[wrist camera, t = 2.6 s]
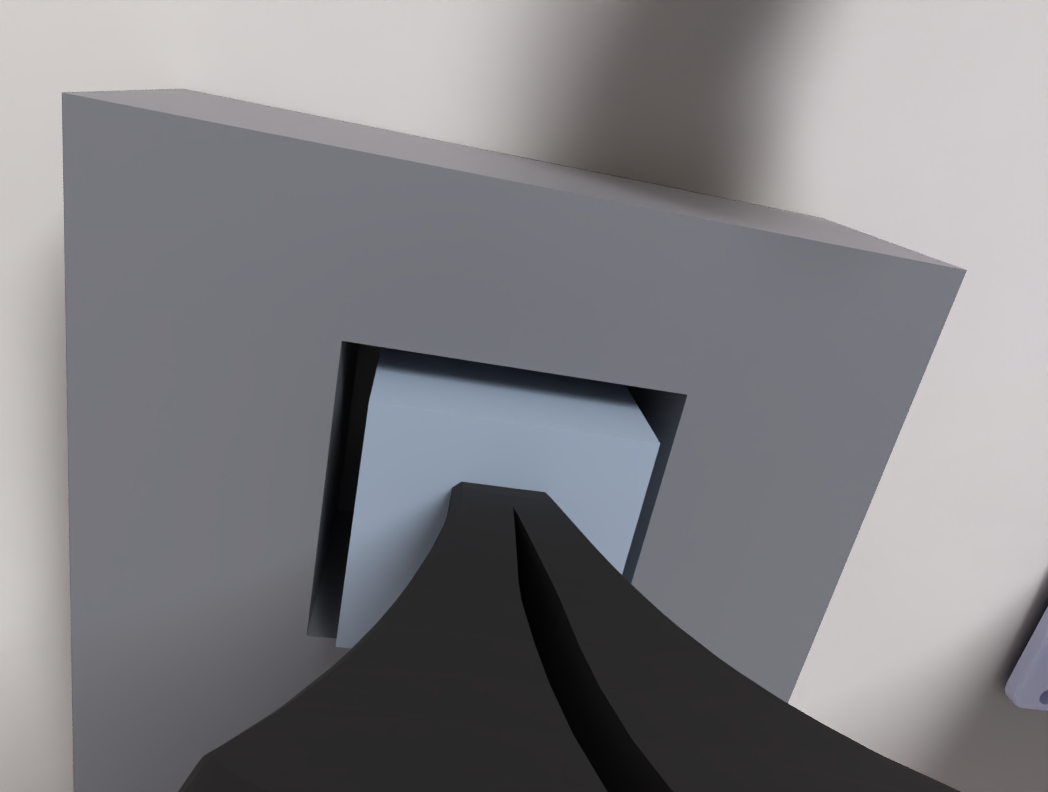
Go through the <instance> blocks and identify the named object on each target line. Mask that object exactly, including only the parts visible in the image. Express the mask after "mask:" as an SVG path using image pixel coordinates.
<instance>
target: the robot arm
mask: <svg viewBox="0 0 1048 792" xmlns="http://www.w3.org/2000/svg"><path fill="white" fill-rule="evenodd" d="M1005 693H1006V695H1007V696H1008V697H1009V699H1010V700H1011V701H1012V702H1013V703H1014V704H1015V705H1016V706H1017V707H1020V708H1025V709H1035V710H1046V711H1048V607H1047V609H1046V611H1045V612H1044V614H1043V616H1042V618H1041V620H1040V622H1039V624H1038V625H1037V627H1036V629H1035V631H1034V633H1033V635H1032V637H1031V638H1030V640H1029V642H1028V644H1027V646H1026V648H1025V650H1024V651H1023V653H1022V655H1021V657H1020V659H1019V661H1018V663H1017V664H1016V666H1015V668H1014V670H1013V672H1012V674H1011V676H1010V677H1009V679H1008V681H1007V683H1006V687H1005ZM178 792H960V791H958V790H956V789H953V788H951V787H949V786H947V785H945V784H943V783H940V782H938V781H936V780H934V779H932V778H930V777H927V776H925V775H923V774H921V773H919V772H916V771H914V770H912V769H910V768H908V767H906V766H903V765H901V764H899V763H897V762H895V761H893V760H890V759H888V758H886V757H884V756H882V755H880V754H878V753H876V752H874V751H872V750H870V749H868V748H866V747H865V746H863V745H861V744H859V743H857V742H855V741H853V740H852V739H850V738H848V737H846V736H844V735H842V734H840V733H839V732H837V731H835V730H833V729H831V728H829V727H828V726H826V725H824V724H822V723H820V722H818V721H817V720H815V719H813V718H812V717H810V716H808V715H806V714H805V713H803V712H801V711H800V710H798V709H796V708H795V707H793V706H791V705H789V704H788V703H786V702H784V701H783V700H781V699H780V698H778V697H777V696H775V695H774V694H772V693H770V692H769V691H767V690H766V689H764V688H763V687H761V686H760V685H758V684H757V683H755V682H754V681H752V680H751V679H749V678H747V677H746V676H744V675H743V674H741V673H740V672H738V671H737V670H735V669H734V668H733V667H731V666H730V665H728V664H727V663H726V662H724V661H723V660H721V659H720V658H718V657H717V656H716V655H714V654H713V653H712V652H710V651H709V650H708V649H707V648H705V647H704V646H703V645H702V644H700V643H699V642H698V641H696V640H695V639H694V638H693V637H691V636H690V635H689V634H687V633H686V632H685V631H684V630H682V629H681V628H680V627H678V626H677V625H676V624H675V623H674V622H672V621H671V620H670V619H669V618H668V617H667V616H665V615H664V614H663V613H662V612H661V611H660V610H659V609H657V608H656V607H655V606H654V605H653V604H652V603H651V602H650V601H649V600H648V599H647V598H646V597H645V596H643V595H642V594H641V593H640V592H639V591H638V590H637V589H636V588H635V587H634V586H633V585H632V584H631V583H630V582H629V581H628V580H627V579H626V578H625V577H624V576H623V575H622V574H620V573H619V572H618V571H617V570H616V568H615V567H614V566H613V565H612V564H611V563H610V562H609V561H608V560H607V559H606V558H605V557H604V556H603V555H602V554H601V553H600V552H599V551H598V550H597V549H596V547H595V546H594V545H593V544H592V543H591V542H590V541H589V540H588V539H587V538H586V536H585V535H584V534H583V533H582V532H581V531H580V530H579V529H578V527H577V526H576V525H575V524H574V523H573V522H572V521H571V520H570V518H569V517H568V516H567V515H566V514H565V513H564V512H563V511H562V509H561V508H560V507H559V506H558V505H557V504H556V503H555V502H554V501H553V499H552V498H551V497H550V496H549V495H548V494H547V493H546V492H540V491H532V490H524V489H516V488H508V487H500V486H493V485H485V484H477V483H469V482H462V481H461V482H460V483H458V484H457V485H455V486H454V487H452V491H451V497H450V502H449V508H448V513H447V518H446V520H445V523H444V525H443V527H442V529H441V531H440V533H439V535H438V537H437V539H436V541H435V543H434V545H433V547H432V548H431V550H430V552H429V554H428V555H427V557H426V558H425V560H424V561H423V563H422V564H421V566H420V567H419V569H418V570H417V572H416V573H415V575H414V576H413V578H412V580H411V581H410V583H409V584H408V585H407V587H406V588H405V589H404V591H403V592H402V593H401V595H400V596H399V597H398V598H397V600H396V601H395V602H394V603H393V605H392V606H391V607H390V608H389V609H388V610H387V612H386V613H385V614H384V615H383V616H382V617H381V619H380V620H379V621H378V622H377V623H376V624H375V625H374V626H373V627H372V628H371V629H370V630H369V631H368V632H367V633H366V634H365V635H364V636H363V637H362V639H361V640H360V641H359V642H358V643H357V644H356V645H355V646H354V647H353V648H352V649H351V650H350V651H349V652H347V653H346V654H345V655H344V656H343V657H342V658H341V659H340V660H339V661H338V662H337V663H335V664H334V665H333V666H332V667H331V668H330V669H328V670H327V671H326V672H325V673H323V674H322V675H321V676H320V677H318V678H317V679H316V680H315V681H313V682H312V683H311V684H309V685H308V686H307V687H306V688H304V689H303V690H302V691H301V692H299V693H298V694H297V695H296V696H294V697H293V698H292V699H291V700H289V701H288V702H287V703H286V704H284V705H283V706H281V707H280V708H278V709H277V710H276V711H274V712H273V713H271V714H270V715H268V716H267V717H265V718H264V719H262V720H261V721H259V722H257V723H256V724H254V725H253V726H251V727H249V728H248V729H246V730H245V731H243V732H242V733H240V734H238V735H237V736H235V737H234V738H232V739H231V740H229V741H227V742H226V743H224V744H223V745H221V746H219V747H218V748H216V749H214V750H213V751H211V752H209V753H207V754H206V755H204V756H203V757H202V758H201V759H200V761H199V762H198V764H197V765H196V766H195V768H194V769H193V771H192V772H191V773H190V775H189V776H188V778H187V779H186V781H185V782H184V784H183V785H182V787H181V788H180V789H179V791H178Z"/></svg>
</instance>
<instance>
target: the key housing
mask: <svg viewBox="0 0 1048 792" xmlns="http://www.w3.org/2000/svg"><path fill="white" fill-rule="evenodd" d="M62 129H63V188H64V246H65V305H66V364H67V422H68V481H69V539H70V598H71V657H72V715H73V774H74V792H178V791H179V789H180V788H181V787H182V785H183V784H184V782H185V781H186V779H187V778H188V776H189V775H190V773H191V772H192V771H193V769H194V768H195V766H196V765H197V764H198V762H199V761H200V759H201V758H202V757H203V756H204V755H206V754H207V753H209V752H211V751H213V750H214V749H216V748H218V747H219V746H221V745H223V744H224V743H226V742H227V741H229V740H231V739H232V738H234V737H235V736H237V735H238V734H240V733H242V732H243V731H245V730H246V729H248V728H249V727H251V726H253V725H254V724H256V723H257V722H259V721H261V720H262V719H264V718H265V717H267V716H268V715H270V714H271V713H273V712H274V711H276V710H277V709H278V708H280V707H281V706H283V705H284V704H286V703H287V702H288V701H289V700H291V699H292V698H293V697H294V696H296V695H297V694H298V693H299V692H301V691H302V690H303V689H304V688H306V687H307V686H308V685H309V684H311V683H312V682H313V681H315V680H316V679H317V678H318V677H320V676H321V675H322V674H323V673H325V672H326V671H327V670H328V669H330V668H331V667H332V666H333V665H334V664H335V663H337V662H338V661H339V660H340V659H341V658H342V657H343V656H344V655H345V654H346V653H347V652H349V651H350V650H351V649H352V648H343V647H336V639H337V632H338V625H339V617H340V610H341V603H342V595H343V588H344V581H345V574H346V566H347V559H348V552H349V544H350V537H351V530H352V522H353V515H354V508H355V500H356V493H357V486H358V478H359V471H360V464H361V456H362V449H363V442H364V435H365V427H366V420H367V413H368V405H369V399H370V395H371V391H372V387H373V382H374V378H375V374H376V369H377V365H378V361H379V356H380V352H381V348H382V347H385V348H391V349H398V350H404V351H411V352H417V353H423V354H430V355H436V356H443V357H449V358H455V359H462V360H468V361H475V362H481V363H487V364H494V365H500V366H507V367H513V368H520V369H526V370H532V371H539V372H545V373H552V374H558V375H564V376H571V377H577V378H584V379H590V380H596V381H603V382H609V383H616V384H622V385H626V387H627V389H628V390H629V392H630V394H631V395H632V397H633V399H634V400H635V402H636V404H637V405H638V407H639V409H640V411H641V412H642V414H643V416H644V417H645V419H646V421H647V422H648V424H649V426H650V427H651V429H652V431H653V432H654V434H655V436H656V437H657V439H658V441H659V442H660V446H659V450H658V453H657V456H656V460H655V463H654V467H653V470H652V474H651V477H650V480H649V484H648V487H647V491H646V494H645V498H644V501H643V504H642V508H641V511H640V515H639V518H638V522H637V525H636V528H635V532H634V535H633V539H632V542H631V546H630V549H629V552H628V556H627V559H626V563H625V566H624V570H623V573H622V575H623V576H624V577H625V578H626V579H627V580H628V581H629V582H630V583H631V584H632V585H633V586H634V587H635V588H636V589H637V590H638V591H639V592H640V593H641V594H642V595H643V596H645V597H646V598H647V599H648V600H649V601H650V602H651V603H652V604H653V605H654V606H655V607H656V608H657V609H659V610H660V611H661V612H662V613H663V614H664V615H665V616H667V617H668V618H669V619H670V620H671V621H672V622H674V623H675V624H676V625H677V626H678V627H680V628H681V629H682V630H684V631H685V632H686V633H687V634H689V635H690V636H691V637H693V638H694V639H695V640H696V641H698V642H699V643H700V644H702V645H703V646H704V647H705V648H707V649H708V650H709V651H710V652H712V653H713V654H714V655H716V656H717V657H718V658H720V659H721V660H723V661H724V662H726V663H727V664H728V665H730V666H731V667H733V668H734V669H735V670H737V671H738V672H740V673H741V674H743V675H744V676H746V677H747V678H749V679H751V680H752V681H754V682H755V683H757V684H758V685H760V686H761V687H763V688H764V689H766V690H767V691H769V692H770V693H772V694H774V695H775V696H777V697H778V698H780V699H781V700H783V701H784V702H786V703H788V701H789V699H790V696H791V694H792V691H793V689H794V687H795V684H796V682H797V679H798V677H799V675H800V672H801V670H802V667H803V665H804V662H805V660H806V658H807V655H808V653H809V650H810V648H811V646H812V643H813V641H814V638H815V636H816V633H817V631H818V629H819V626H820V624H821V621H822V619H823V616H824V614H825V612H826V609H827V607H828V604H829V602H830V600H831V597H832V595H833V592H834V590H835V587H836V585H837V583H838V580H839V578H840V575H841V573H842V571H843V568H844V566H845V563H846V561H847V558H848V556H849V554H850V551H851V549H852V546H853V544H854V542H855V539H856V537H857V534H858V532H859V529H860V527H861V525H862V522H863V520H864V517H865V515H866V513H867V510H868V508H869V505H870V503H871V500H872V498H873V496H874V493H875V491H876V488H877V486H878V483H879V481H880V479H881V476H882V474H883V471H884V469H885V467H886V464H887V462H888V459H889V457H890V454H891V452H892V450H893V447H894V445H895V442H896V440H897V438H898V435H899V433H900V430H901V428H902V425H903V423H904V421H905V418H906V416H907V413H908V411H909V409H910V406H911V404H912V401H913V399H914V396H915V394H916V392H917V389H918V387H919V384H920V382H921V380H922V377H923V375H924V372H925V370H926V367H927V365H928V363H929V360H930V358H931V355H932V353H933V350H934V348H935V346H936V343H937V341H938V338H939V336H940V334H941V331H942V329H943V326H944V324H945V321H946V319H947V317H948V314H949V312H950V309H951V307H952V305H953V302H954V300H955V297H956V295H957V292H958V290H959V288H960V285H961V283H962V280H963V278H964V276H965V273H966V271H967V270H964V269H962V268H959V267H956V266H953V265H951V264H948V263H945V262H942V261H940V260H937V259H934V258H931V257H929V256H926V255H923V254H920V253H917V252H915V251H912V250H909V249H906V248H904V247H901V246H898V245H895V244H893V243H890V242H887V241H884V240H882V239H879V238H876V237H873V236H871V235H868V234H865V233H862V232H860V231H857V230H854V229H851V228H848V227H846V226H843V225H840V224H837V223H835V222H832V221H829V220H826V219H824V218H819V217H814V216H810V215H805V214H800V213H795V212H790V211H785V210H780V209H775V208H770V207H765V206H760V205H755V204H750V203H745V202H740V201H735V200H730V199H725V198H720V197H715V196H711V195H706V194H701V193H696V192H691V191H686V190H681V189H676V188H671V187H666V186H661V185H656V184H651V183H646V182H641V181H636V180H631V179H626V178H621V177H617V176H612V175H607V174H602V173H597V172H592V171H587V170H582V169H577V168H572V167H567V166H562V165H557V164H552V163H547V162H542V161H537V160H532V159H527V158H522V157H518V156H513V155H508V154H503V153H498V152H493V151H488V150H483V149H478V148H473V147H468V146H463V145H458V144H453V143H448V142H443V141H438V140H433V139H428V138H424V137H419V136H414V135H409V134H404V133H399V132H394V131H389V130H384V129H379V128H374V127H369V126H364V125H359V124H354V123H349V122H344V121H339V120H334V119H329V118H325V117H320V116H315V115H310V114H305V113H300V112H295V111H290V110H285V109H280V108H275V107H270V106H265V105H260V104H255V103H250V102H245V101H240V100H235V99H231V98H226V97H221V96H216V95H211V94H206V93H201V92H196V91H191V90H186V89H160V90H128V91H95V92H62Z"/></svg>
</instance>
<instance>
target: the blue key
mask: <svg viewBox="0 0 1048 792" xmlns="http://www.w3.org/2000/svg"><path fill="white" fill-rule="evenodd" d="M659 446H660V442H659V441H658V439H657V437H656V436H655V434H654V432H653V431H652V429H651V427H650V426H649V424H648V422H647V421H646V419H645V417H644V416H643V414H642V412H641V411H640V409H639V407H638V405H637V404H636V402H635V400H634V399H633V397H632V395H631V394H630V392H629V390H628V389H627V387H626V385H622V384H616V383H609V382H603V381H596V380H590V379H584V378H577V377H571V376H564V375H558V374H552V373H545V372H539V371H532V370H526V369H520V368H513V367H507V366H500V365H494V364H487V363H481V362H475V361H468V360H462V359H455V358H449V357H443V356H436V355H430V354H423V353H417V352H411V351H404V350H398V349H391V348H385V347H382V348H381V352H380V356H379V361H378V365H377V369H376V374H375V378H374V382H373V387H372V391H371V395H370V399H369V405H368V413H367V420H366V427H365V435H364V442H363V449H362V456H361V464H360V471H359V478H358V486H357V493H356V500H355V508H354V515H353V522H352V530H351V537H350V544H349V552H348V559H347V566H346V574H345V581H344V588H343V595H342V603H341V610H340V617H339V625H338V632H337V639H336V647H343V648H353V647H354V646H355V645H356V644H357V643H358V642H359V641H360V640H361V639H362V637H363V636H364V635H365V634H366V633H367V632H368V631H369V630H370V629H371V628H372V627H373V626H374V625H375V624H376V623H377V622H378V621H379V620H380V619H381V617H382V616H383V615H384V614H385V613H386V612H387V610H388V609H389V608H390V607H391V606H392V605H393V603H394V602H395V601H396V600H397V598H398V597H399V596H400V595H401V593H402V592H403V591H404V589H405V588H406V587H407V585H408V584H409V583H410V581H411V580H412V578H413V576H414V575H415V573H416V572H417V570H418V569H419V567H420V566H421V564H422V563H423V561H424V560H425V558H426V557H427V555H428V554H429V552H430V550H431V548H432V547H433V545H434V543H435V541H436V539H437V537H438V535H439V533H440V531H441V529H442V527H443V525H444V523H445V520H446V518H447V513H448V508H449V502H450V497H451V491H452V487H454V486H455V485H457V484H458V483H460V482H461V481H462V482H469V483H477V484H485V485H493V486H500V487H508V488H516V489H524V490H532V491H540V492H546V493H547V494H548V495H549V496H550V497H551V498H552V499H553V501H554V502H555V503H556V504H557V505H558V506H559V507H560V508H561V509H562V511H563V512H564V513H565V514H566V515H567V516H568V517H569V518H570V520H571V521H572V522H573V523H574V524H575V525H576V526H577V527H578V529H579V530H580V531H581V532H582V533H583V534H584V535H585V536H586V538H587V539H588V540H589V541H590V542H591V543H592V544H593V545H594V546H595V547H596V549H597V550H598V551H599V552H600V553H601V554H602V555H603V556H604V557H605V558H606V559H607V560H608V561H609V562H610V563H611V564H612V565H613V566H614V567H615V568H616V570H617V571H618V572H619V573H620V574H622V573H623V570H624V566H625V563H626V559H627V556H628V552H629V549H630V546H631V542H632V539H633V535H634V532H635V528H636V525H637V522H638V518H639V515H640V511H641V508H642V504H643V501H644V498H645V494H646V491H647V487H648V484H649V480H650V477H651V474H652V470H653V467H654V463H655V460H656V456H657V453H658V450H659Z"/></svg>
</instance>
